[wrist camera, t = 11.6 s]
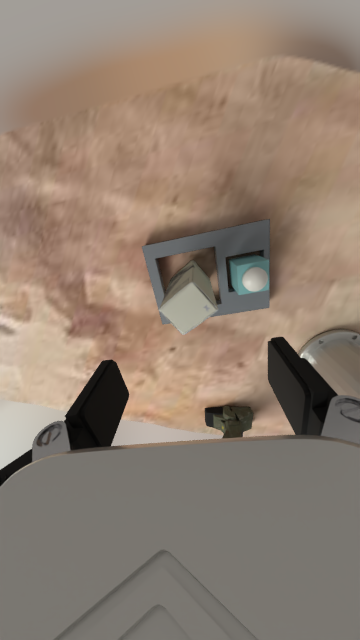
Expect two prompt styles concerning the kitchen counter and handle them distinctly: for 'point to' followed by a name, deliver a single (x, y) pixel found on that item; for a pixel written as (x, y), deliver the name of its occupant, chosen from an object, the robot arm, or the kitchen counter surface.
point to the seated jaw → (249, 274)
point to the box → (188, 298)
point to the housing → (224, 245)
